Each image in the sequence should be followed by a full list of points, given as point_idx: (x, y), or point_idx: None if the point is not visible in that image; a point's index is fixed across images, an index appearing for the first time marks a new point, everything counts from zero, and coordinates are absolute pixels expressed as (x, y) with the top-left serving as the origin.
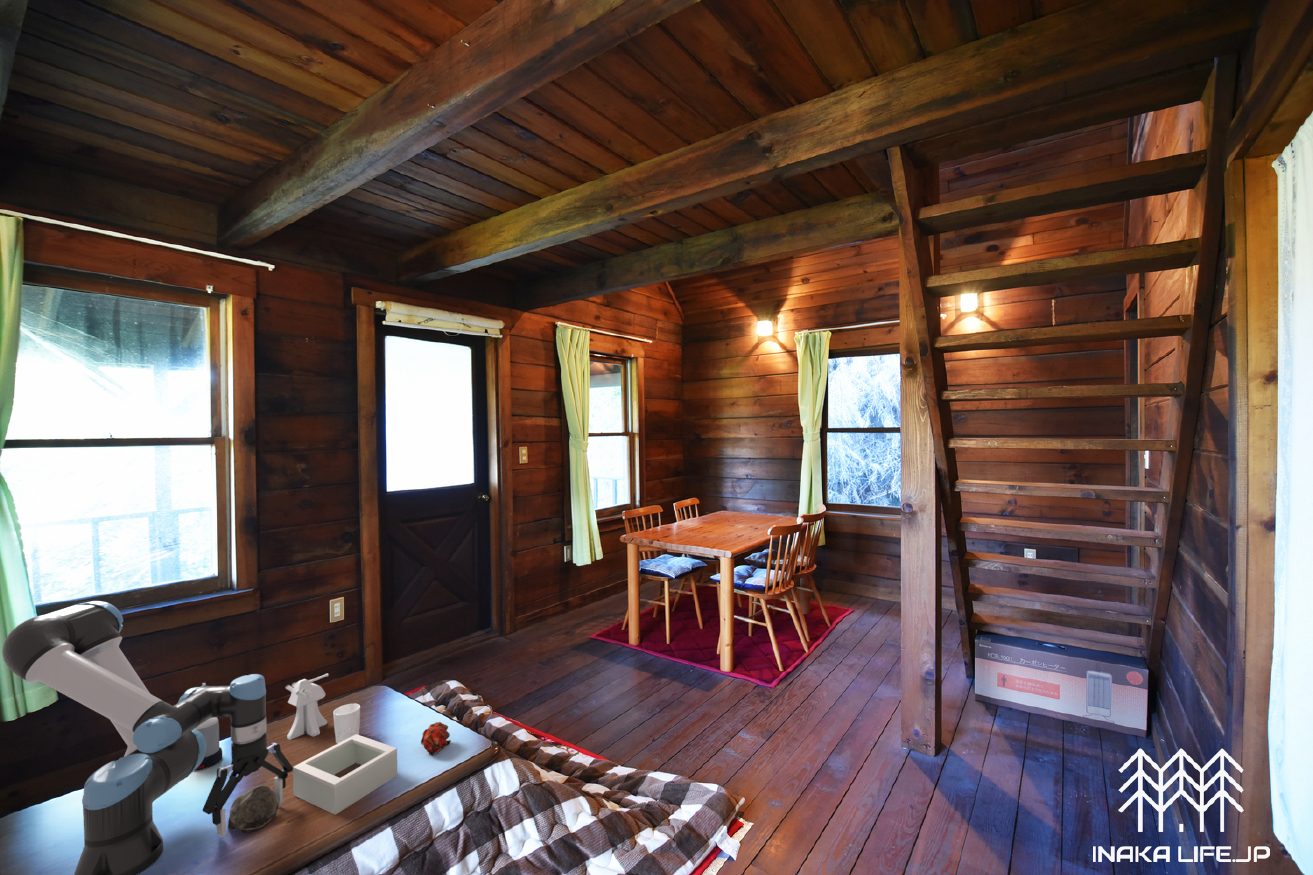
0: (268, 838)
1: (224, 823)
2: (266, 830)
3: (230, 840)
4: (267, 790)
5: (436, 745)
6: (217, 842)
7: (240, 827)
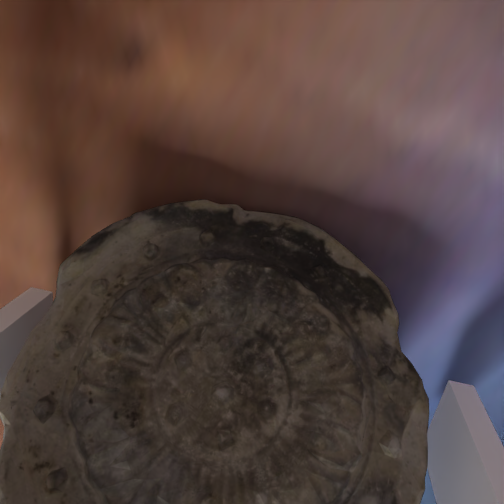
0: (356, 16)
1: (492, 464)
2: (277, 148)
3: (436, 321)
4: (30, 454)
5: None
6: None
7: (397, 324)
